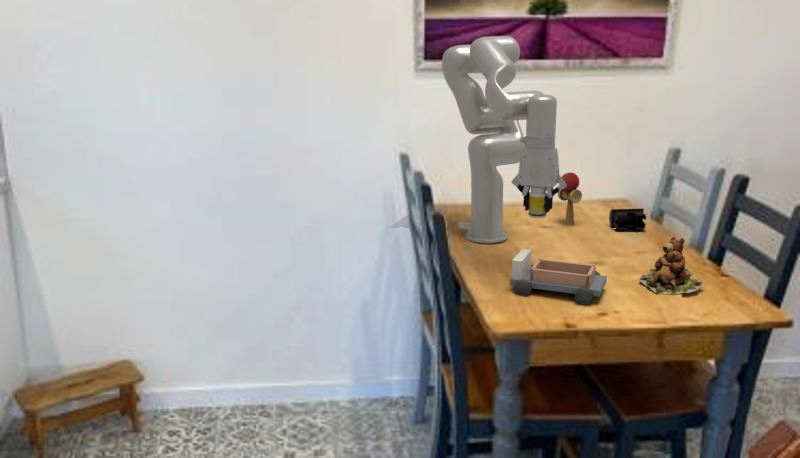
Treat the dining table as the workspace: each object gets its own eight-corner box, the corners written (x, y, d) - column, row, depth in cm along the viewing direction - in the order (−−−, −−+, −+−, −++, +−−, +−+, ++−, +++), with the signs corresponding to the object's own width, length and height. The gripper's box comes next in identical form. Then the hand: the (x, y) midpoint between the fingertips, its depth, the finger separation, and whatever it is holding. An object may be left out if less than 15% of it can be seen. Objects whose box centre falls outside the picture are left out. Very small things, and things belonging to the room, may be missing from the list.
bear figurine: (628, 281, 202) (631, 236, 198) (675, 273, 207) (678, 230, 203) (662, 299, 190) (666, 252, 186) (711, 290, 194) (716, 244, 191)
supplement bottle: (546, 219, 204) (547, 188, 201) (528, 218, 205) (529, 187, 202) (546, 214, 208) (547, 184, 206) (528, 213, 209) (529, 183, 207)
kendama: (554, 224, 252) (556, 170, 247) (572, 223, 253) (575, 169, 248) (563, 231, 245) (565, 175, 240) (582, 229, 246) (584, 174, 241)
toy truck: (508, 294, 193) (509, 262, 191) (522, 276, 206) (523, 246, 203) (597, 306, 185) (599, 273, 182) (607, 286, 197) (608, 255, 195)
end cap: (639, 226, 249) (640, 206, 247) (646, 232, 242) (647, 212, 240) (608, 227, 249) (609, 207, 247) (614, 233, 242) (615, 212, 240)
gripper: (504, 143, 201) (502, 210, 206) (570, 147, 194) (566, 217, 199) (512, 138, 207) (510, 204, 213) (575, 142, 201) (572, 209, 206)
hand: (537, 209), depth 206 cm, fingers closed on supplement bottle, 4 cm apart
